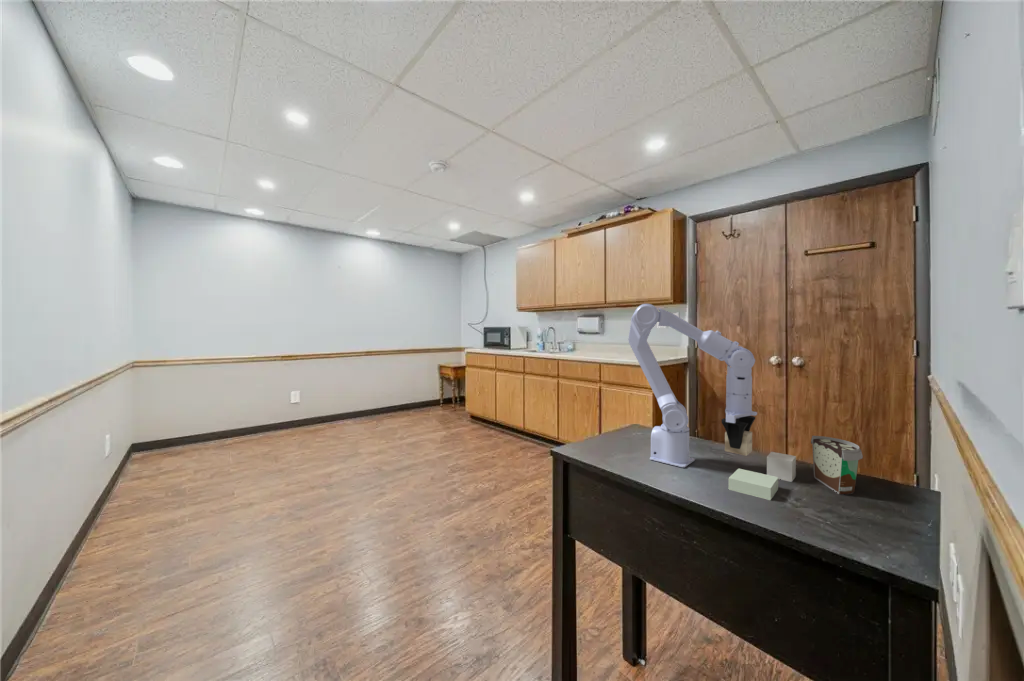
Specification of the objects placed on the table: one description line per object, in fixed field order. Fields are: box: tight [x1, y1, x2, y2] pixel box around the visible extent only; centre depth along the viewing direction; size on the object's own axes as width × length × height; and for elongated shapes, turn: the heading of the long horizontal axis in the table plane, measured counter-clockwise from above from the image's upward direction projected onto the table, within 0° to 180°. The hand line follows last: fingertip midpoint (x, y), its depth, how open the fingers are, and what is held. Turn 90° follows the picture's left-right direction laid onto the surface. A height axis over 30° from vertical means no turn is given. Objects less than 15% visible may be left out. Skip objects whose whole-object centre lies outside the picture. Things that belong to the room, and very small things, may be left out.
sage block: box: [727, 468, 779, 501], centre depth 86 cm, size 8×8×3 cm
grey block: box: [766, 451, 797, 483], centre depth 93 cm, size 5×5×5 cm
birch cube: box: [724, 431, 753, 457], centre depth 98 cm, size 5×5×5 cm
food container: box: [810, 435, 864, 495], centre depth 86 cm, size 12×6×10 cm, turn 168°
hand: (738, 445), depth 98 cm, fingers closed on birch cube, 5 cm apart
